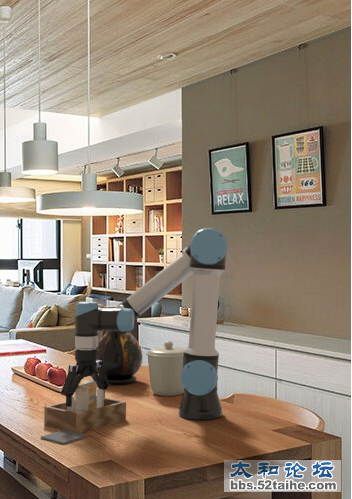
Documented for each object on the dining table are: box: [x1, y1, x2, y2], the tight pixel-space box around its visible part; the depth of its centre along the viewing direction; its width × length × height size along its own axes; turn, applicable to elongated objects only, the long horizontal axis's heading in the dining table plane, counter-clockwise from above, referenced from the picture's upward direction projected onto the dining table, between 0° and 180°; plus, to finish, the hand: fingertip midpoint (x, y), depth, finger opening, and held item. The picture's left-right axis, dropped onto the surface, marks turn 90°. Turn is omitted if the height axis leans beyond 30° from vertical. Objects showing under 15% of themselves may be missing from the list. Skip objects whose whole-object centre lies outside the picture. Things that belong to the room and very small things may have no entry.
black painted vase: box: [96, 331, 143, 386], centre depth 285 cm, size 22×22×28 cm
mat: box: [40, 429, 89, 445], centre depth 198 cm, size 10×10×1 cm
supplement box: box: [74, 380, 97, 413], centre depth 217 cm, size 8×5×13 cm, turn 168°
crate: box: [43, 395, 127, 434], centre depth 217 cm, size 22×16×6 cm
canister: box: [145, 340, 186, 397], centre depth 262 cm, size 18×18×21 cm
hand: (85, 412), depth 217 cm, fingers open, 13 cm apart
